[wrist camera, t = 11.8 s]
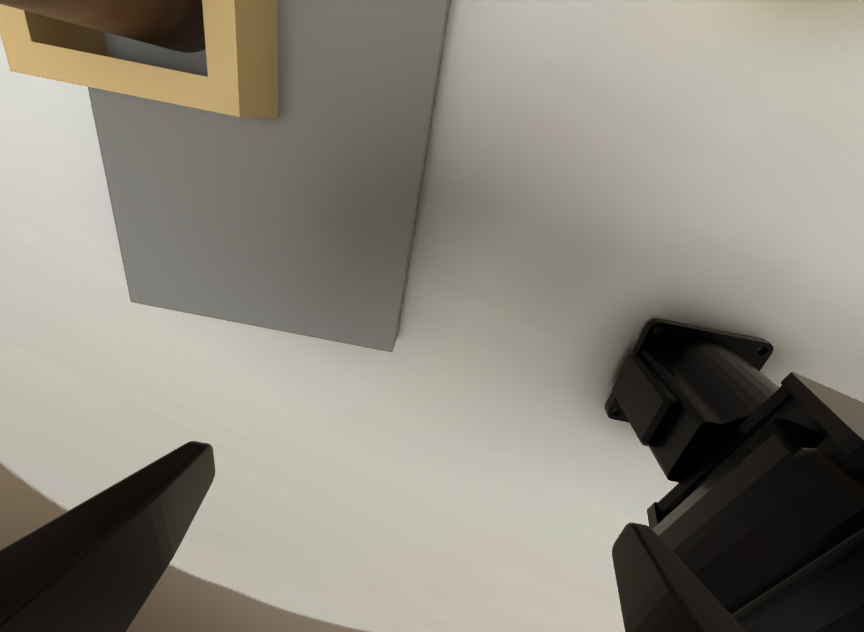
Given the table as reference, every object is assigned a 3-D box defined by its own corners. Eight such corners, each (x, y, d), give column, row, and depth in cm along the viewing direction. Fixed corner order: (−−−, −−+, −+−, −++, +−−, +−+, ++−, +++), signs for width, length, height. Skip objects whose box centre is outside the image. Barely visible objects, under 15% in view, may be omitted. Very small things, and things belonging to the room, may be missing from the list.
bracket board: (478, -176, 13) (485, -319, 9) (396, 338, 22) (381, 386, 18) (57, -266, 12) (-138, -454, 8) (151, 290, 21) (79, 328, 17)
